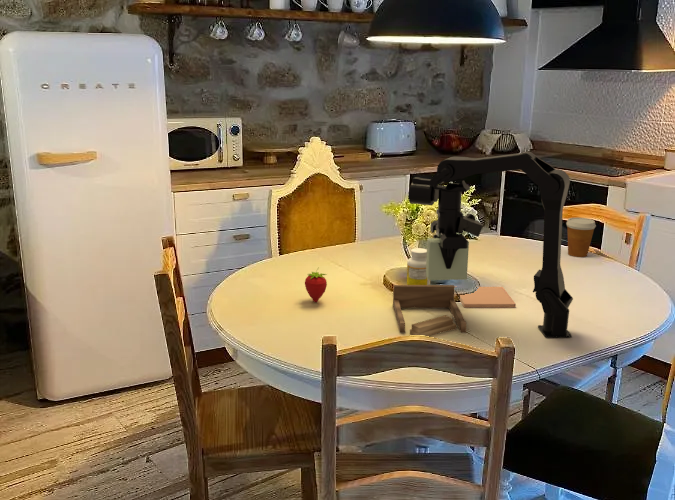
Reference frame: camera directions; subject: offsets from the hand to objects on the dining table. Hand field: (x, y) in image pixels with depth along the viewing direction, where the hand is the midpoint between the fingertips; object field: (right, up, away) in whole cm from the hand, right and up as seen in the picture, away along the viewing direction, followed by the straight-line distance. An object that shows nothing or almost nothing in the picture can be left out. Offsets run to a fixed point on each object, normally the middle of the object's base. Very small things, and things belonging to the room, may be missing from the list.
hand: (446, 266), depth 175 cm
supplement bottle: (-6, -8, +17) cm, 20 cm away
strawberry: (-34, -10, +10) cm, 37 cm away
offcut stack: (-5, -16, -9) cm, 19 cm away
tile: (+13, -9, +14) cm, 21 cm away
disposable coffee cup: (+54, +2, +56) cm, 78 cm away
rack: (-5, -13, 0) cm, 14 cm away
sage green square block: (0, -3, +1) cm, 3 cm away
